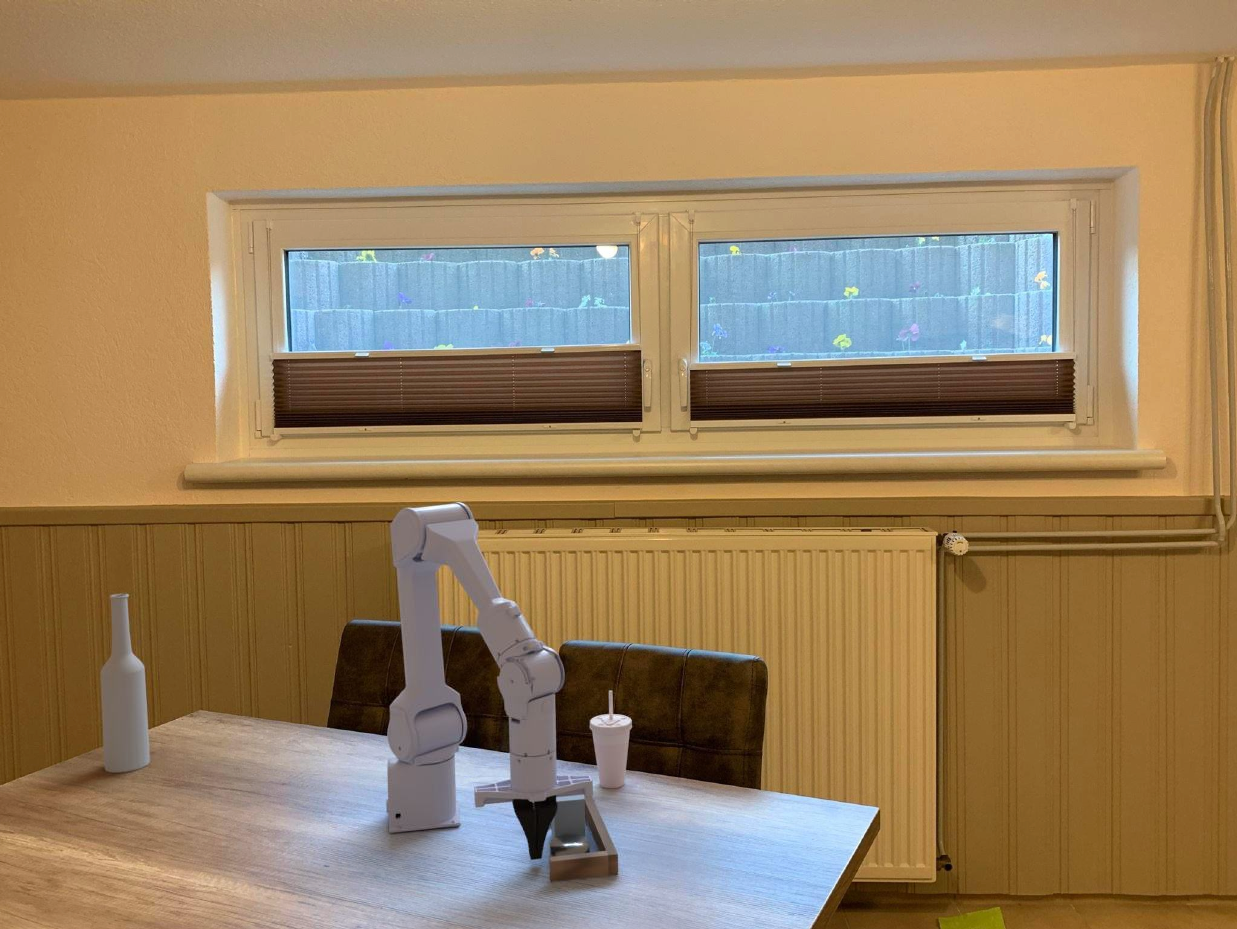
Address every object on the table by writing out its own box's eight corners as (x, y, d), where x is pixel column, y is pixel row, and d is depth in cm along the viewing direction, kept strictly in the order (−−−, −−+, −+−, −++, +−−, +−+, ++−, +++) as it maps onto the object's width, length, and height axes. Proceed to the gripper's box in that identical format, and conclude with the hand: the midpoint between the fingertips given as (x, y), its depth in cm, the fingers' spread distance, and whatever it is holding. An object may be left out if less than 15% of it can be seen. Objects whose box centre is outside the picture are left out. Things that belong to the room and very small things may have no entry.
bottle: (150, 755, 163) (142, 589, 161) (149, 768, 157) (140, 596, 155) (106, 762, 160) (97, 593, 159) (103, 775, 154) (93, 600, 153)
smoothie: (635, 775, 150) (633, 686, 149) (631, 792, 144) (629, 698, 143) (593, 775, 151) (591, 685, 150) (588, 791, 144) (586, 698, 144)
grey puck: (552, 874, 119) (552, 854, 119) (547, 855, 124) (547, 836, 124) (593, 869, 120) (592, 849, 120) (586, 851, 125) (585, 832, 125)
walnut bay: (551, 881, 117) (550, 861, 117) (533, 818, 135) (533, 801, 135) (618, 874, 119) (617, 854, 119) (592, 812, 137) (591, 795, 137)
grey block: (555, 847, 126) (554, 801, 126) (551, 833, 130) (550, 789, 130) (585, 843, 127) (584, 798, 127) (581, 830, 131) (580, 787, 131)
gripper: (475, 765, 115) (478, 877, 116) (596, 754, 118) (598, 863, 119) (472, 745, 122) (475, 851, 123) (586, 735, 125) (588, 838, 126)
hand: (535, 855), depth 121 cm, fingers closed
